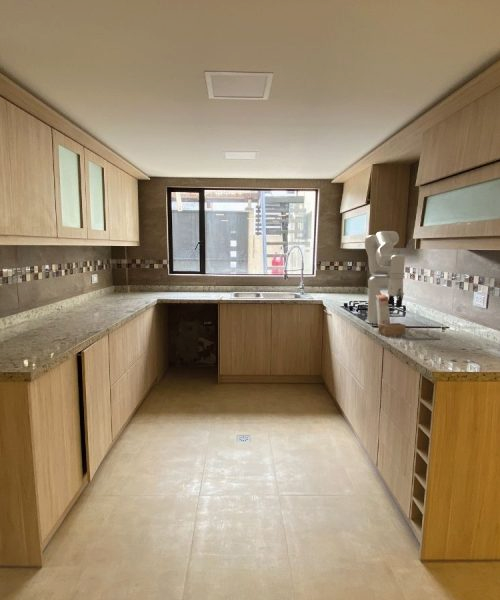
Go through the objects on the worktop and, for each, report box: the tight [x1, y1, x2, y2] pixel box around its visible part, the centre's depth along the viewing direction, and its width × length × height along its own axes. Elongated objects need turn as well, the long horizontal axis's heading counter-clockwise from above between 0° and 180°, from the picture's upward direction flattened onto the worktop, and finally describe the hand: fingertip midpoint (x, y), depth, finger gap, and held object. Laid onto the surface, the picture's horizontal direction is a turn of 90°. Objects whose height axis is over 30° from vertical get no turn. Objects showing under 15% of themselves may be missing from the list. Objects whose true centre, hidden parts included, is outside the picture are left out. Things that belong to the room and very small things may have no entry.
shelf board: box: [378, 322, 407, 337], centre depth 221 cm, size 6×14×6 cm, turn 106°
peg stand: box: [400, 328, 441, 341], centre depth 213 cm, size 10×18×4 cm, turn 93°
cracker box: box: [376, 293, 391, 328], centre depth 232 cm, size 14×6×21 cm, turn 168°
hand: (394, 305), depth 218 cm, fingers open, 9 cm apart
